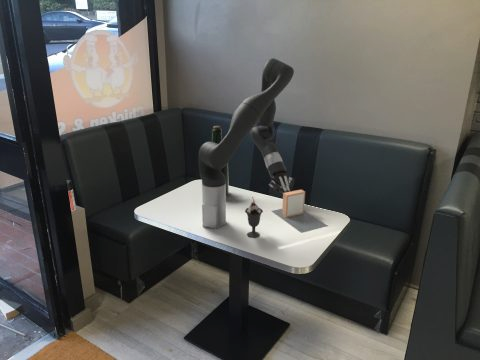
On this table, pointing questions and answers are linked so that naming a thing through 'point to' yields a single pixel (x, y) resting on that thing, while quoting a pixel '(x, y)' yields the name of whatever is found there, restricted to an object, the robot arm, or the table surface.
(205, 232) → the table surface
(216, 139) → the beer bottle
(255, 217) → the sundae
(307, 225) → the slate board
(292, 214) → the terracotta brick
